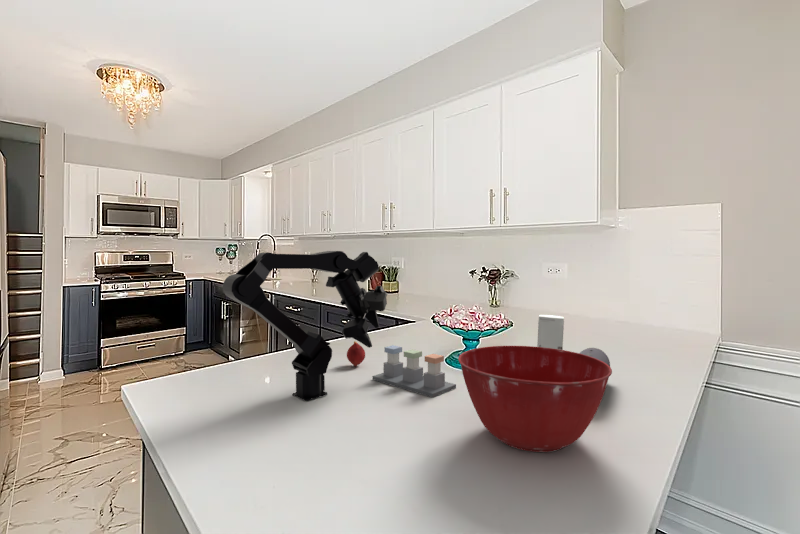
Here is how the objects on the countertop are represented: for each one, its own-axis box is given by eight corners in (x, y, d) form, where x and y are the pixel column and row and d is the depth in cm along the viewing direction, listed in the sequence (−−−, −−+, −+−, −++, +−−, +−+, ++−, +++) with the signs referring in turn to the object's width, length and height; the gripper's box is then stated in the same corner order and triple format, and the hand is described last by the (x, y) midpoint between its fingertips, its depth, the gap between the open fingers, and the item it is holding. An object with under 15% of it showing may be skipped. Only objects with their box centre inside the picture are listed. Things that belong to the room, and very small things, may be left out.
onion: (366, 363, 137) (366, 339, 137) (363, 368, 132) (363, 343, 131) (349, 363, 138) (348, 339, 138) (345, 368, 132) (344, 343, 132)
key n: (413, 371, 114) (413, 353, 114) (403, 368, 117) (403, 351, 117) (422, 368, 117) (422, 351, 117) (412, 366, 119) (412, 349, 119)
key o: (393, 366, 119) (393, 349, 119) (384, 363, 122) (384, 347, 122) (402, 363, 122) (402, 347, 122) (393, 361, 124) (393, 345, 124)
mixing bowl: (497, 400, 104) (497, 338, 103) (626, 432, 86) (627, 357, 85) (430, 441, 82) (430, 362, 81) (585, 494, 64) (586, 394, 63)
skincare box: (536, 360, 141) (537, 316, 141) (537, 356, 147) (537, 313, 146) (563, 362, 138) (564, 317, 138) (563, 358, 144) (563, 315, 144)
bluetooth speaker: (575, 378, 122) (576, 343, 122) (611, 383, 118) (612, 347, 117) (561, 402, 103) (561, 361, 102) (603, 409, 98) (604, 367, 98)
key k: (435, 376, 109) (435, 358, 109) (424, 374, 112) (424, 356, 111) (443, 373, 112) (443, 355, 112) (433, 371, 114) (433, 353, 114)
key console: (432, 397, 106) (432, 379, 106) (372, 379, 121) (372, 363, 121) (456, 388, 113) (456, 371, 113) (396, 372, 128) (396, 357, 128)
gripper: (368, 302, 104) (393, 351, 110) (383, 267, 120) (404, 311, 126) (329, 313, 107) (356, 360, 113) (349, 278, 124) (371, 321, 129)
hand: (374, 336), depth 120 cm, fingers open, 9 cm apart
